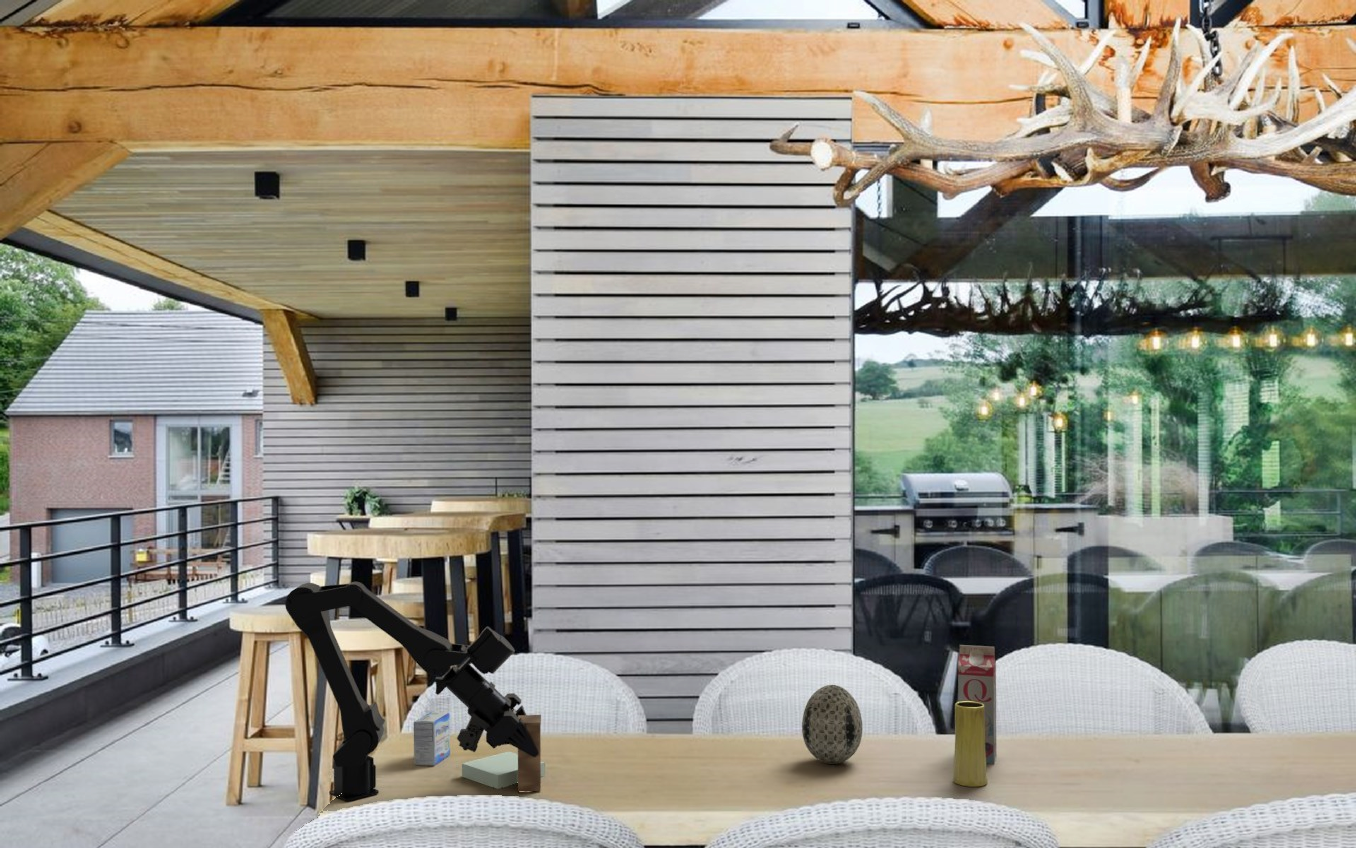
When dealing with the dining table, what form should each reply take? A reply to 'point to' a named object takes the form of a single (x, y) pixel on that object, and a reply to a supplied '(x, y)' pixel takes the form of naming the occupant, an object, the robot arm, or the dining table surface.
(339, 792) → the robot arm
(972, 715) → the vase
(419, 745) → the medicine box
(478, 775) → the plate
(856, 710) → the decorative egg
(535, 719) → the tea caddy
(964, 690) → the juice carton
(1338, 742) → the dining table surface
